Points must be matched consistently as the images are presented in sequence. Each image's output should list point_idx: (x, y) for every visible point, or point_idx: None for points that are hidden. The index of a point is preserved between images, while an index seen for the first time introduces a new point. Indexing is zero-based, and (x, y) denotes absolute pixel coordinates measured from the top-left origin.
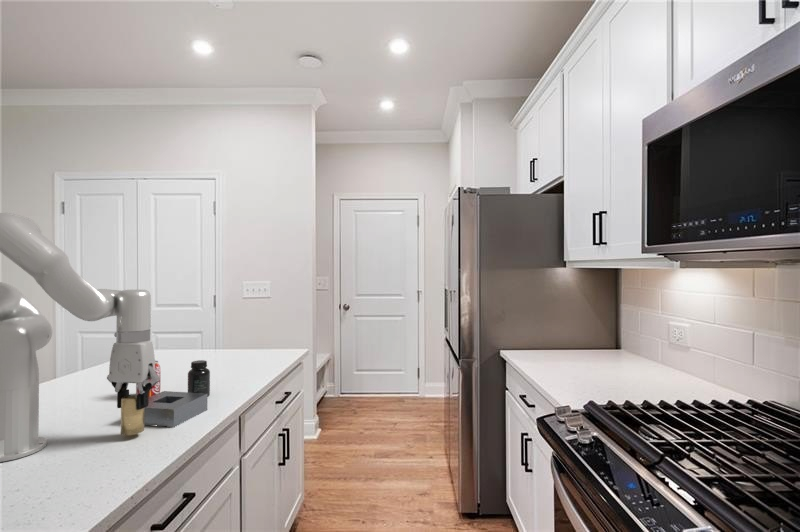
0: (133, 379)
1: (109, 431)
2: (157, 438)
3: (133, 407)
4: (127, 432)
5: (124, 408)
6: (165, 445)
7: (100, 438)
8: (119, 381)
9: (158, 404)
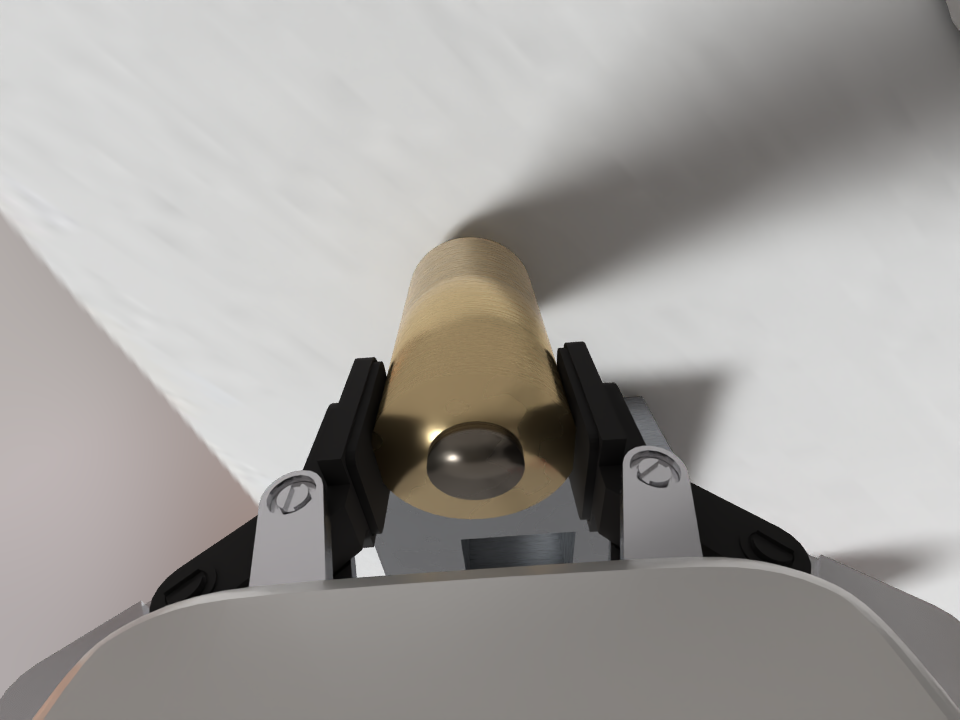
0: (242, 661)
1: (659, 310)
2: (319, 300)
3: (399, 353)
4: (445, 247)
5: (469, 321)
6: (174, 234)
7: (638, 219)
8: (584, 573)
9: (511, 518)
